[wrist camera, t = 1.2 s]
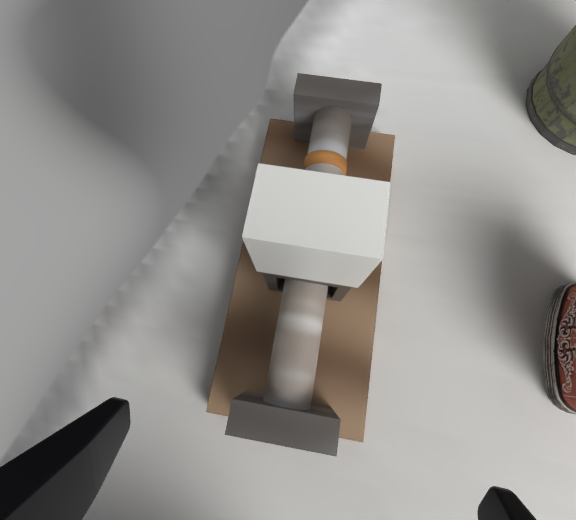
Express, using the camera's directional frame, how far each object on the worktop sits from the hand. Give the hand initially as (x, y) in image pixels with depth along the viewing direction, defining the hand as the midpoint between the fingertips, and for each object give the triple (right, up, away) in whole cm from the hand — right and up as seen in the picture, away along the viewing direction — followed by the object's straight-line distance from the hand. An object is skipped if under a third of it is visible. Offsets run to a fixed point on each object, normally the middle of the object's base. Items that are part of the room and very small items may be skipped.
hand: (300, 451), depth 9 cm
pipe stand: (+1, +4, +15) cm, 16 cm away
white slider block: (+1, +4, +13) cm, 14 cm away
